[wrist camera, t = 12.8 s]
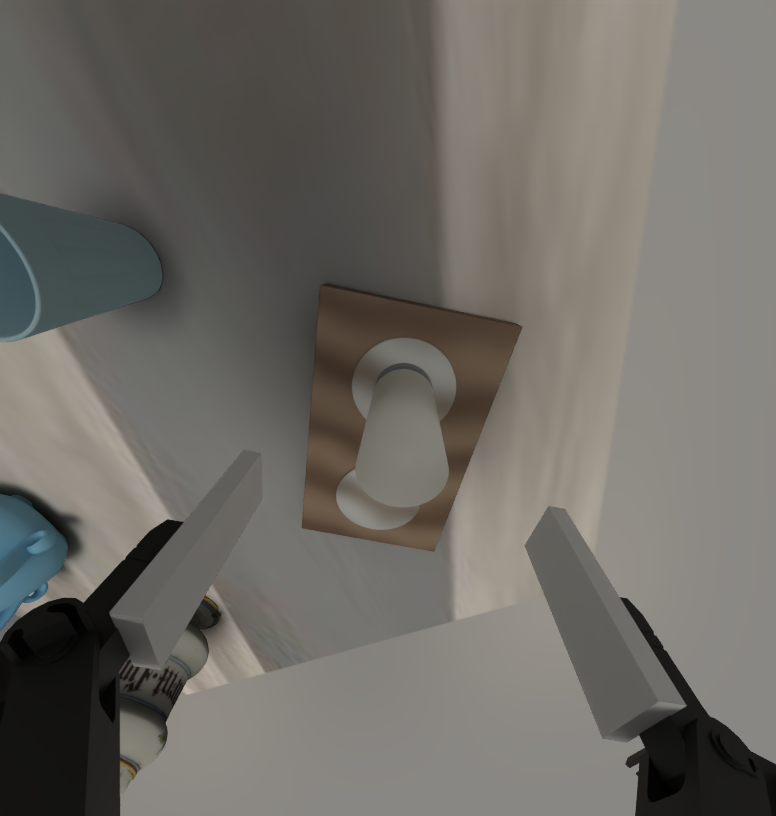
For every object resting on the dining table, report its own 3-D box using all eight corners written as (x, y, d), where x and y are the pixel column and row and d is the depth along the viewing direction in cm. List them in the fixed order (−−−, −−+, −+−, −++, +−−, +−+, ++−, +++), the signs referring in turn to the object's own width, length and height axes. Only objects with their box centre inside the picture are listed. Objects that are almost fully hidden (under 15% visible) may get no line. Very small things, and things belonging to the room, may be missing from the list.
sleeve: (380, 357, 24) (362, 424, 15) (439, 369, 25) (460, 443, 15) (370, 410, 27) (349, 498, 17) (424, 420, 27) (435, 514, 17)
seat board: (325, 283, 24) (318, 285, 22) (515, 323, 25) (524, 328, 23) (305, 518, 36) (300, 531, 34) (433, 540, 37) (434, 555, 35)
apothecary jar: (238, 629, 49) (155, 810, 33) (170, 628, 50) (58, 803, 34) (212, 584, 44) (99, 774, 28) (136, 584, 45) (-15, 766, 29)
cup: (186, 241, 23) (37, 231, 14) (169, 328, 26) (39, 366, 17) (83, 184, 22) (-157, 130, 13) (79, 282, 25) (-114, 298, 16)
